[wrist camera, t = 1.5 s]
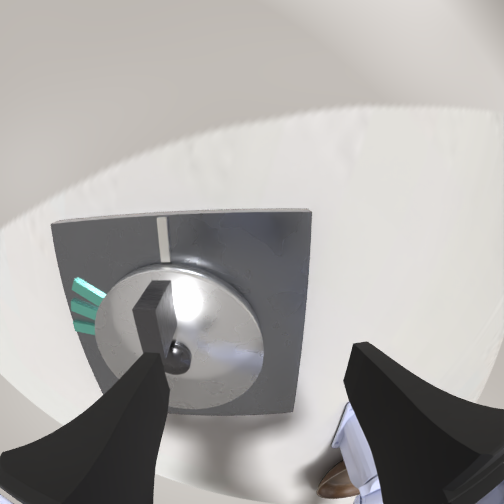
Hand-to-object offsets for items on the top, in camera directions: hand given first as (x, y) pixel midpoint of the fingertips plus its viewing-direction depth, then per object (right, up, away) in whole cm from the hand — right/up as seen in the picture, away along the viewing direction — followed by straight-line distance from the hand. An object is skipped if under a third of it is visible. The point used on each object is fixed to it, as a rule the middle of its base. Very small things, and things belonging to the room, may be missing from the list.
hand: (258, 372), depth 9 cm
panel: (-6, -2, +10) cm, 12 cm away
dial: (-6, -2, +9) cm, 11 cm away
